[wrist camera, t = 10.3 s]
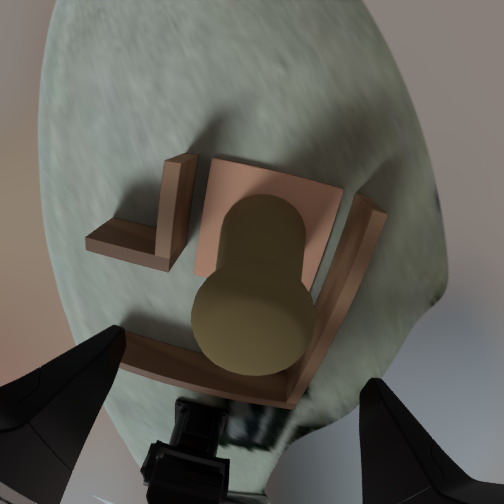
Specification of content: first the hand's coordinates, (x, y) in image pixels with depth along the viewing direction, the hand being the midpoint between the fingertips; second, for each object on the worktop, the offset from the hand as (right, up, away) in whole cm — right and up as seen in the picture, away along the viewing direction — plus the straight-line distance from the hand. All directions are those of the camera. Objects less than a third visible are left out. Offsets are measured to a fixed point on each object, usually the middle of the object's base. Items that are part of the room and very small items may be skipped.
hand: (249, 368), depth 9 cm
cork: (+1, +5, +11) cm, 12 cm away
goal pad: (+1, +5, +11) cm, 13 cm away
